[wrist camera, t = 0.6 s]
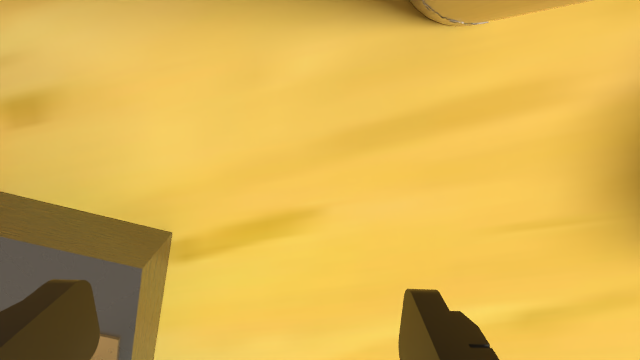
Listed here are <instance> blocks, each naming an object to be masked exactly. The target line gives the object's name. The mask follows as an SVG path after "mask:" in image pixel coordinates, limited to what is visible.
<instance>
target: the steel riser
mask: <svg viewBox="0 0 640 360" xmlns="http://www.w3.org/2000/svg"><path fill="white" fill-rule="evenodd" d="M171 238H172V233H171V232H167V231H162V230H158V229H154V228H150V227H146V226H141V225H137V224H133V223H129V222H125V221H120V220H116V219H112V218H108V217H104V216H99V215H95V214H91V213H87V212H83V211H78V210H74V209H70V208H66V207H62V206H58V205H53V204H49V203H45V202H41V201H37V200H32V199H28V198H24V197H20V196H16V195H11V194H7V193H3V192H0V312H1V311H3V310H5V309H7V308H8V307H10V306H12V305H14V304H16V303H18V302H20V301H22V300H24V299H25V298H26V297H28V296H29V295H30V294H32V293H33V292H34V291H35V290H37V289H38V288H39V287H41V286H42V285H43V284H45V283H46V282H48V281H50V280H53V279H65V280H86V281H88V282H89V283H90V285H91V287H92V291H93V296H94V302H95V307H96V312H97V317H98V323H99V328H100V339H99V343H98V347H97V349H96V351H95V353H94V355H93V357H92V358H91V359H90V360H153V358H154V352H155V345H156V338H157V332H158V325H159V318H160V312H161V305H162V298H163V292H164V285H165V278H166V272H167V265H168V258H169V252H170V245H171Z"/></svg>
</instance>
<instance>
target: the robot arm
mask: <svg viewBox="0 0 640 360" xmlns="http://www.w3.org/2000/svg"><path fill="white" fill-rule="evenodd" d="M410 1H411V3H412V4H413V5H414V6H415V8H416V9H418V10H419V11H420V12H421V13H423V14H424V15H425V16H426V17H428V18H430V19H432V20H434V21H436V22H439V23H441V24H446V25H452V26H467V25H475V24H483V23H488V22H489V21H493V20H499V19H504V18H509V17H514V16H519V15H524V14H528V13H533V12H538V11H543V10H548V9H553V8H558V7H562V6H567V5H572V4H577V3H582V2H587V1H592V0H410ZM99 339H100V328H99V323H98V317H97V312H96V307H95V302H94V296H93V291H92V287H91V285H90V283H89V282H88V281H86V280H65V279H53V280H50V281H48V282H46V283H45V284H43V285H42V286H41V287H39V288H38V289H37V290H35V291H34V292H33V293H32V294H30V295H29V296H28V297H26V298H25V299H24V300H22V301H20V302H18V303H16V304H14V305H12V306H10V307H8V308H7V309H5V310H3V311H1V312H0V360H90V359H91V358H92V357H93V355H94V353H95V351H96V349H97V347H98V343H99ZM399 357H400V360H499V359H498V357H497V355H496V354H495V352H494V351H493V349H492V348H490V344H489V343H488V341H487V340H486V338H485V337H484V335H483V333H482V332H481V330H480V329H479V327H478V326H477V325H476V324H475V323H473V322H472V321H471V320H470V319H469V318H467V317H466V316H465V315H464V314H463V313H462V312H460V311H449V309H448V307H447V305H446V304H445V302H444V300H443V298H442V296H441V295H440V293H439V292H438V291H437V290H425V289H407V290H406V291H405V294H404V301H403V309H402V317H401V325H400V333H399Z"/></svg>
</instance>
